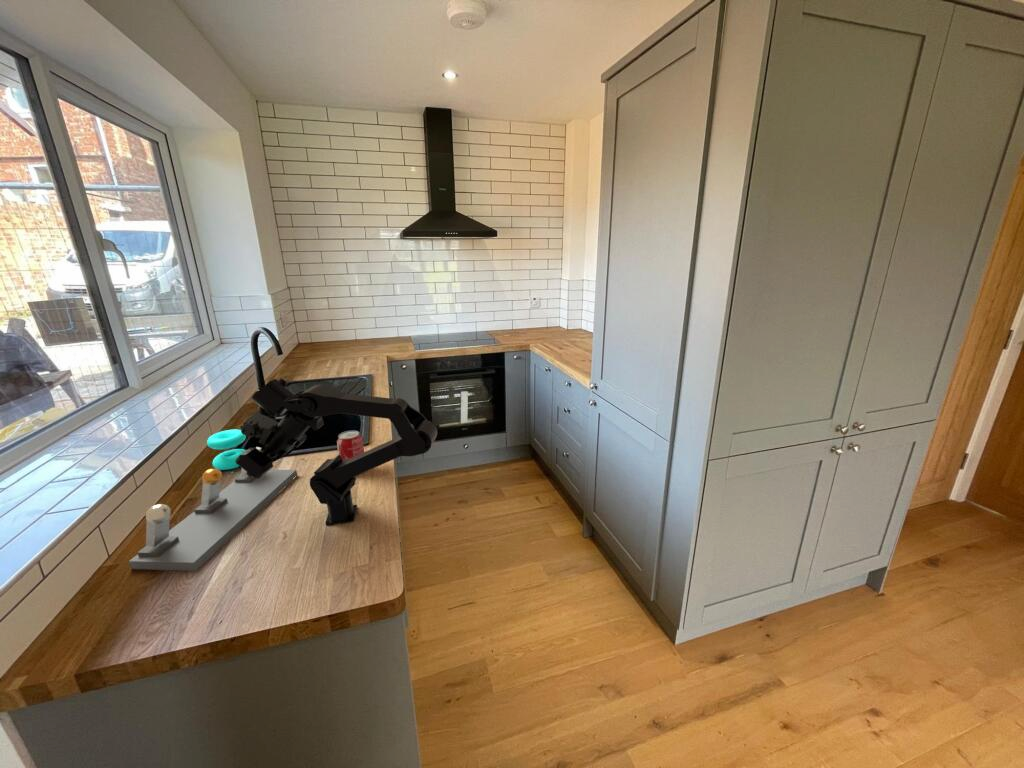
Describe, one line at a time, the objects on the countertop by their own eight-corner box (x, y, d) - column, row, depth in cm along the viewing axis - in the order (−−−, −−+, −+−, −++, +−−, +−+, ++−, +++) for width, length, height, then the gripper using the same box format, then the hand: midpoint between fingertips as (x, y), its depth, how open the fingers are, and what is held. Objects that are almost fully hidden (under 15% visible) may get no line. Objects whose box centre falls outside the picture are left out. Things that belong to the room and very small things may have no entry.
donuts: (197, 439, 122) (227, 426, 131) (205, 469, 125) (234, 454, 134) (224, 442, 120) (252, 429, 129) (231, 473, 123) (259, 457, 132)
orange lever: (224, 498, 104) (226, 468, 101) (212, 507, 100) (214, 476, 97) (208, 493, 103) (210, 463, 101) (196, 502, 100) (198, 471, 97)
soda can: (340, 468, 124) (335, 432, 121) (365, 463, 127) (360, 427, 123) (342, 479, 118) (336, 441, 114) (367, 473, 121) (362, 436, 117)
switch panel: (297, 475, 120) (295, 466, 119) (196, 570, 84) (192, 558, 83) (251, 475, 121) (249, 466, 120) (131, 569, 85) (127, 557, 84)
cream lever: (174, 536, 89) (176, 503, 87) (158, 549, 86) (160, 514, 83) (156, 531, 89) (157, 497, 86) (139, 544, 85) (140, 509, 83)
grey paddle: (258, 465, 119) (261, 447, 117) (245, 476, 113) (247, 457, 111) (254, 464, 119) (257, 446, 117) (240, 475, 113) (242, 456, 111)
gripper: (286, 391, 102) (253, 432, 106) (234, 420, 84) (196, 468, 88) (322, 421, 104) (288, 459, 108) (278, 455, 86) (239, 500, 90)
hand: (255, 470), depth 98 cm, fingers open, 5 cm apart
